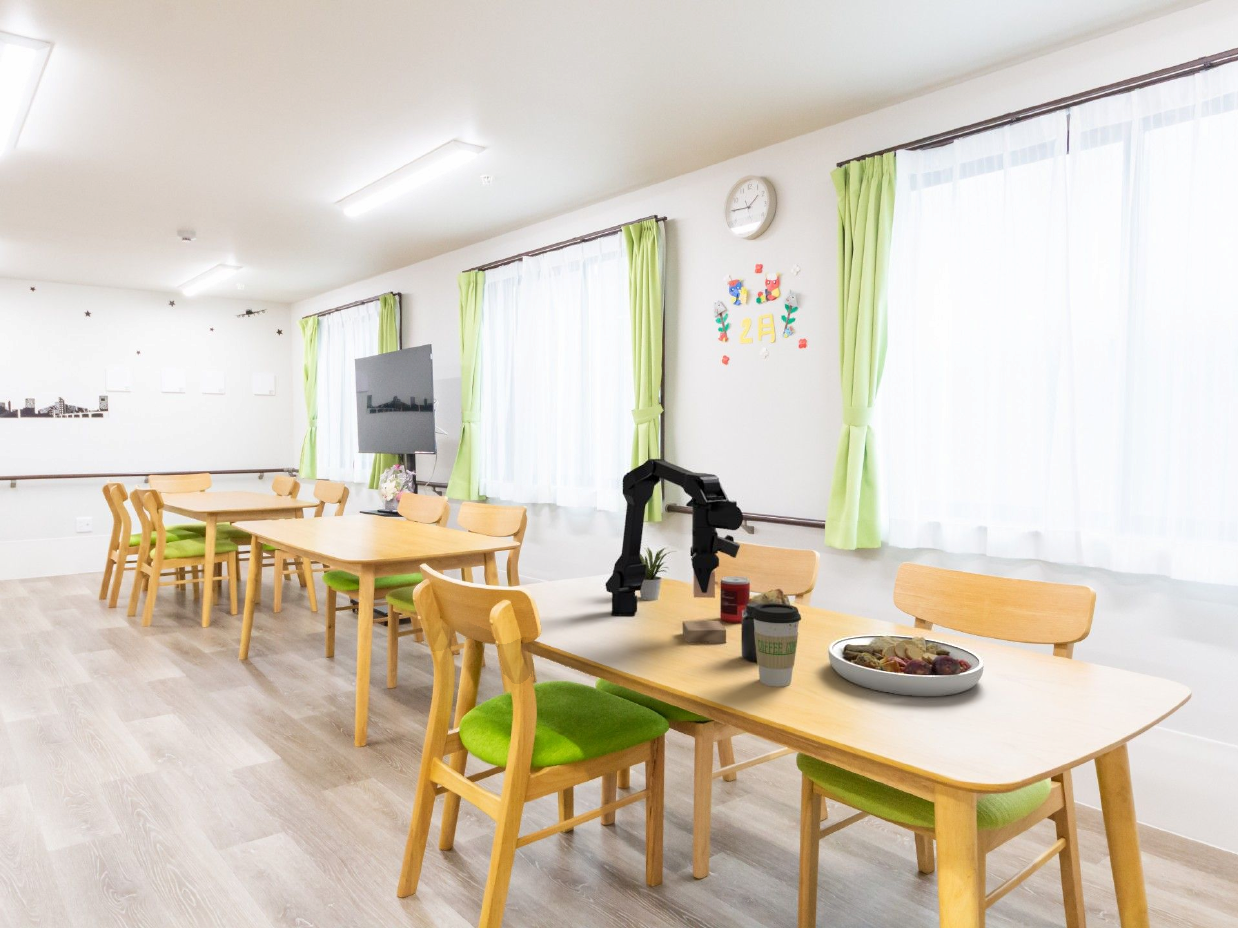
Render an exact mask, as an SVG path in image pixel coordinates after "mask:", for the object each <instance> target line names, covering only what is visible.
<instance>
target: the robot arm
mask: <svg viewBox="0 0 1238 928" xmlns="http://www.w3.org/2000/svg"><path fill="white" fill-rule="evenodd" d="M662 479H663V480H665V481H667V482H670V483H672V484H674V485H676V486H679V487H680V488H681V489H683V491H684V493H686V495H688V496H690V497H691V499H690V500H689V501H688V502H687V503H686V504H685V505H686V507H687V508H692V509H691V511H692V517H691V518H692V519H691V521H692V523H691V525H692V526H691V535H692V537H691V542H692V543H691V546H690V548H689V549H690V552H689V553H690V557H691V558H690V560H691V566H692V569H693V570H694V572H695V575H696V578H697V580H698V583H699V586H700V588H701V591H702V593H707V589H708V584H709V580H710V575H711V572H712V571H713V570H714V571H715V570H716V569H717V568H719V567H720V558H719V556H718V555H717V554H719V553H718V552H720V553H722V554H725V555H728V556H729V557H731V558H734V559H736V558H737V555H738V554H739V549H740V548H741V545H740V544H739V542H736V541H735V540H734V538H735V537H734V536H732V535H730V534H727V535H726V536H724V537H721V536H719V533H718V531H717V529H721V530H728V531H737V530H738V529H740V528H741V526H742V524H743V521H744V515H743V512H742V509H740V507H739V506H738V504H737V500H729V498H728V495H727V494H726V491H725V489H724V488H723V486H722V484H721V482H720V479H719V477H718V476H717V475H716V474H712V473H703V472H694V471H691V470H689V469H686V468H684V467H681V466H679V465H677V464H673V463H671V462H669V461H667V460H665V459H664V458H649V459H648V460H646V461H645V462H644V463H643V464H641V465H639V466H637V467H636V468H633V469H631V470H630V471H628V472H627V473H625V474H624V476H623V478H622V495H623V497H624V499H625V501H626V512H625V521H624V529H623V539H622V546H621V547H622V548H621V554H620V555H619V557H618V559H617V560H616V562H615V563H614V566H613V570H612V574H611V575H610V577H609V578H608V580H607V581H606V582H605V589H606V592H608V593H611V612H610V615H611V616H626V617H628V616H633V617H634V616H635V615H636V613H637V612H638V595H636V591H639V592H640V590H641V587H642V583H643V581H644V578H646V577H645V571H646V564H643V562H642V560H641V558H640V554H641V549H642V547H641V546H642V540H643V529H644V523H645V521H644V520H645V513H646V506H647V504H648V503H649V501H650V499H651V498H652V497H653V494H654V491H655V487H656V485H657V484H659V483H660V482H661V481H662ZM693 570H692V571H693Z"/></svg>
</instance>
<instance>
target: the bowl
mask: <svg viewBox="0 0 1238 928" xmlns="http://www.w3.org/2000/svg"><path fill="white" fill-rule="evenodd" d="M827 652H828V659H829V662H830V665H831V667H832V668H833V669H834V671H835V672H836V673H837V674H838V675H840V676H841V677H842V678H844V679H845V680H847V681H849V682H851V683H853V684H855V685H857V686H861V687H863V688H867V689H869V688H870V689H869V690H873V691H877V690H878V691H879V692H881V691H882V692H881V693H886V692H889V693H888V694H892V693H894V694H893V695H899V694H902V695H901V696H908V695H912V696H911V697H942V696H943V697H944V696H949V695H956V694H959V693H963V692H965V691H968V690H970V689H971V688H973V687H974V686H975V685H977V683H978V682H979V681H980V679H981V678H982V676H983V672H984V661H983V659H982V658H981V657H980V656H979V655H978V654H977V653H975V652H974V651H971V650H969V649H966V648H964V647H961V646H958V645H955V644H951V643H949V642H948V643H947V642H946V641H945V642H944V641H940V640H935V639H929V638H924V637H923V636H920V637H919V636H908V635H907V636H906V635H895V634H866V635H865V634H862V635H855V636H848V637H843V638H840V639H837V640H835V641H833V642H831V643H830V644H829V645H828V651H827ZM878 691H877V692H878Z"/></svg>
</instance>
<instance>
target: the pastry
mask: <svg viewBox="0 0 1238 928" xmlns="http://www.w3.org/2000/svg"><path fill="white" fill-rule="evenodd" d="M749 603H763V604H766V603H778V604H787V605H791V603H790V600H789V596H788V595H786V593H784V591H783V590H782V589H781V588H776V589H771V590H767V591H765V592H761V593H759V594H757V595H754V596H752V597H751V598H750V601H749Z"/></svg>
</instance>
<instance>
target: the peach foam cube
mask: <svg viewBox="0 0 1238 928" xmlns="http://www.w3.org/2000/svg"><path fill="white" fill-rule="evenodd" d="M692 572H693V576H692V577H693V580H692V581H693V582H692V583H693V584H692V585H693V587H692V588H693V589H692V591H693V593H692V595H693V598H699V599H700V598H706V599H707V598H708V599H709V598H712V599H715V598H716V572H715V569H714V570H713V571H712V572H711V575H710V580H709V584H708V589H707V593H702V591H701V588H700V586H699V583H698V580H697V578H696V575H695V572H694V570H692Z"/></svg>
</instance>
